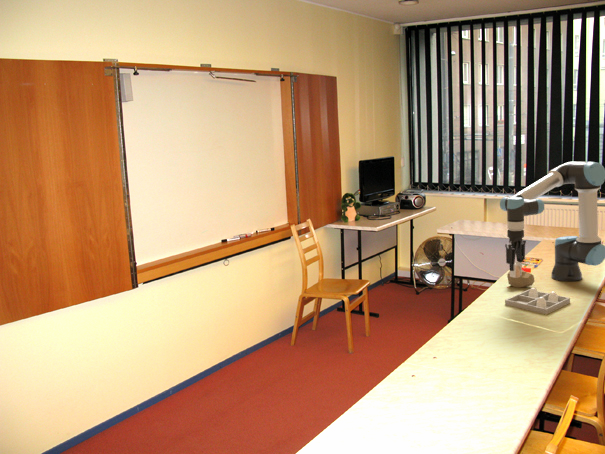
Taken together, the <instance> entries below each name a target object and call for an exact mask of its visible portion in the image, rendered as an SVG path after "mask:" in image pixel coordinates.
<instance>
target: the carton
mask: <svg viewBox="0 0 605 454" xmlns="http://www.w3.org/2000/svg"><path fill="white" fill-rule="evenodd" d="M530 289H531V288H530ZM530 289H527V290H525V291H522V292H520V293H518V294H515V295H513V296H511V297H509V298H506V299H505V300H504V305H506V306H509V307H514V308H518V309H522V310H527V311H530V312H534V313H538V314H542V315H548V314H550V313H552V312H554V311H556V310H559V309H560V308H562V307H563V308H564V306H567V305H569V304H570V303H571V298H570V297H567V296H562V295H558V294H557V296H558V303H555V302H550V301H548V296H549V294H550V292H549V293H547V292H544V291H539V290H537V292H538V298H539V297H543V298H544V299H545V301H546V309H544V308H540V307H537V300H538V298H532V297H529V291H530Z"/></svg>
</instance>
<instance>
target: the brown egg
mask: <svg viewBox="0 0 605 454" xmlns="http://www.w3.org/2000/svg"><path fill="white" fill-rule="evenodd" d="M519 277H520V269H519V267H518V266H517V265H516V277H515V278H519ZM513 278H514V277H513Z"/></svg>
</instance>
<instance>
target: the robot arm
mask: <svg viewBox="0 0 605 454" xmlns="http://www.w3.org/2000/svg"><path fill="white" fill-rule="evenodd" d="M604 182H605V167H604V166H603V165H602V164H601V163H600V162H595V161H568V162H565V163H563V164H560V165H558V166H556V167H554V168H552V169H550V170H549V171H548V172H547V175H545V176H543V177H542V178H540V179H538V180H536V181H535V182H533V183H531V184H530V185H529V186H526V187H525V188H523V189H522V190H520V191H518V192H516V193H515V194H513V195H512V196H504V197H502V198H501V199H500V202H499V207H500V209H501V210H502V211H503V212H507V216H506V217H507V221H506V222H507V232H506V233H507V238H508V239H509V240H508V243H505V246H504V247H505V254H506V255H505V258H506V260H505V261H506V264H508V265H509V271H510V277H514V278H515V277H516V265H517V266H518V267H519V269H520V275H522V269H523V268H522V266H523V263H524V262H525V259H526V243H527V241H526V240H525V239H523V238H525V230H524V229H525V217H527V216H535V215H539V214H542V213H543V212H544V210H545V203H544V201H543V200H542V199H540V197H541V196H543V195H545V194H546V193H548V192H549V191H551V190H553V189H554V188H559V187H561V186H563V185H568V184H571V185H573V184H574V190H575V191H577V193H578V196H577V199H578V201H577V202H578V204H577V205H578V236H577V235H569V236H568V235H567V236H560V237H557V238H555V240H554V242H555V243H554V265H553V268H552V271H551V278H552V279H554V280H556V281H561V282H577V281H580V280H582V278H583V274H582V271H581V267H580V265H579V263H580V264H584V265H587V266H599V265H600V264H602V263H603V262H604V261H605V245H604V244H602V238H601V237H599V235H598V233H599V229H598V228H599V227H598V225H599V224H598V215H599V214H598V191H599V190H600V189H601V186H602V185H603V184H604ZM515 260H516V261H515Z"/></svg>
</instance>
